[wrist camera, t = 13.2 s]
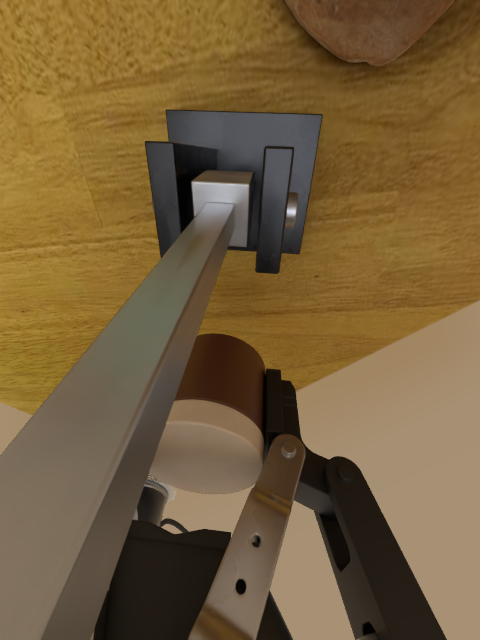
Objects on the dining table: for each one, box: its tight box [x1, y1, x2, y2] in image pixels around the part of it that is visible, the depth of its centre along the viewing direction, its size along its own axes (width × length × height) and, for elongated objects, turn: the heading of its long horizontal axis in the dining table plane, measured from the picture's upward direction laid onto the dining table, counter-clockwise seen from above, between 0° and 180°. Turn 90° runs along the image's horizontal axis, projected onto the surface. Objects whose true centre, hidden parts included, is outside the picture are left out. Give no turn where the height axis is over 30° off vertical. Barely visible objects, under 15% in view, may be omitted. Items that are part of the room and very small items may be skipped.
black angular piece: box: [145, 110, 323, 274], centre depth 14 cm, size 8×9×10 cm
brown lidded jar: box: [149, 334, 266, 494], centre depth 12 cm, size 5×5×5 cm
